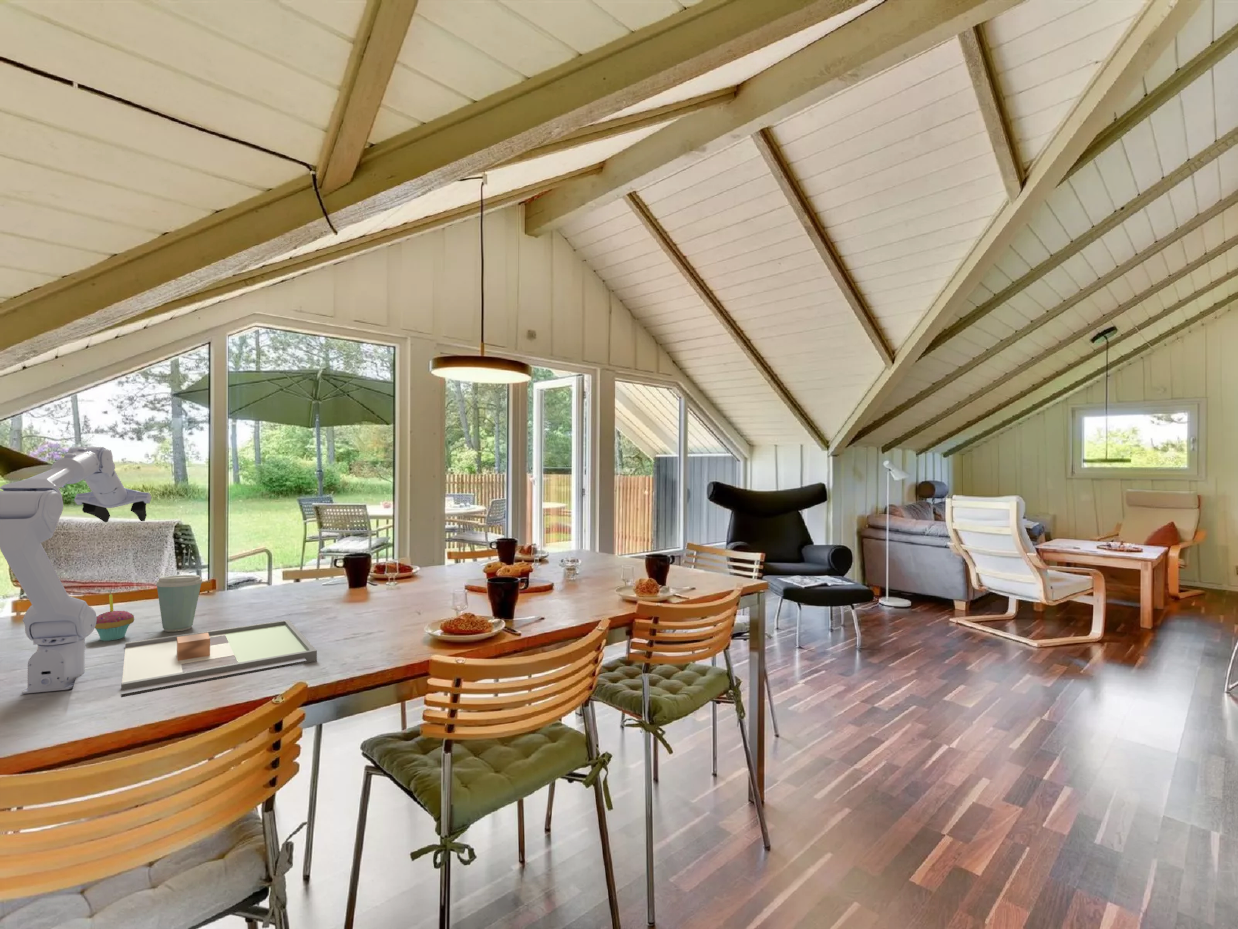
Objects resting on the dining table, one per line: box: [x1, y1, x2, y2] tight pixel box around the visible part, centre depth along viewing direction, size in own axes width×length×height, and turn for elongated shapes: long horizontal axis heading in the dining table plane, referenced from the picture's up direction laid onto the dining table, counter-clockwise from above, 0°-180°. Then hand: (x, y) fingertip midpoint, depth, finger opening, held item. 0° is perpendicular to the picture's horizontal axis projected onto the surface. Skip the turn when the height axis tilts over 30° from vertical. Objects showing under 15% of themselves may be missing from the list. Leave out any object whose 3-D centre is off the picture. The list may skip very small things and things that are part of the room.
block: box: [177, 633, 211, 661], centre depth 138 cm, size 6×6×4 cm
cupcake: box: [94, 591, 135, 642], centre depth 155 cm, size 9×8×12 cm
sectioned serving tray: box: [120, 619, 318, 698], centre depth 141 cm, size 35×34×2 cm
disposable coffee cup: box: [155, 574, 204, 633], centre depth 164 cm, size 11×11×15 cm
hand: (125, 518), depth 150 cm, fingers open, 7 cm apart
